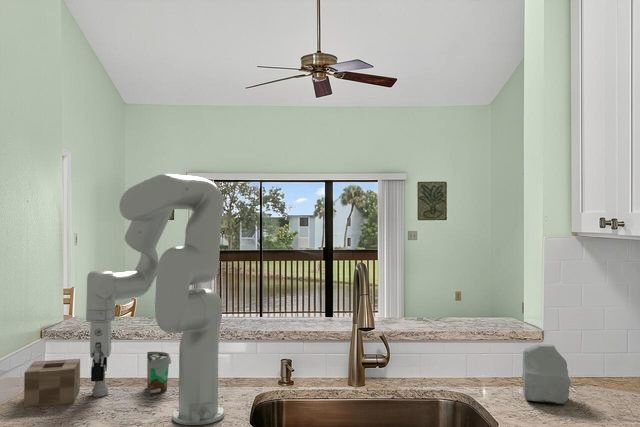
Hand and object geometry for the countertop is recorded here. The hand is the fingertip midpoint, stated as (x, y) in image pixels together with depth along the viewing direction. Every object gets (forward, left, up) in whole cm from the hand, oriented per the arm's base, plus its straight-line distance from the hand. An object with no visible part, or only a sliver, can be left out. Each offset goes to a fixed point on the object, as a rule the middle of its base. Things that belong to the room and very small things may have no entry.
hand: (99, 376), depth 157 cm
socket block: (0, +12, -5) cm, 13 cm away
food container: (0, -16, -5) cm, 17 cm away
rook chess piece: (0, 0, -5) cm, 5 cm away
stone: (-38, -117, -5) cm, 124 cm away
